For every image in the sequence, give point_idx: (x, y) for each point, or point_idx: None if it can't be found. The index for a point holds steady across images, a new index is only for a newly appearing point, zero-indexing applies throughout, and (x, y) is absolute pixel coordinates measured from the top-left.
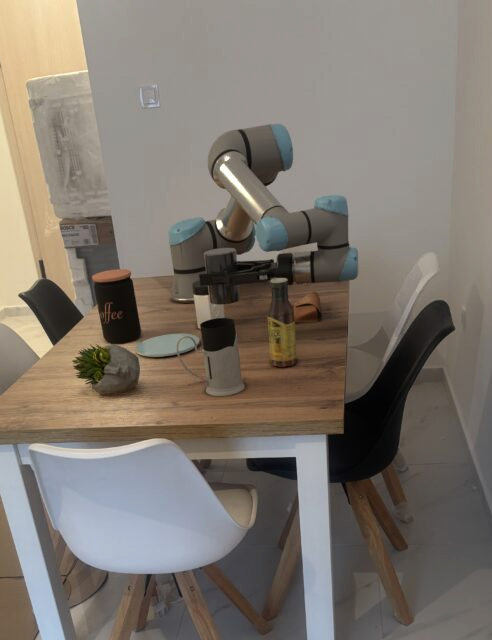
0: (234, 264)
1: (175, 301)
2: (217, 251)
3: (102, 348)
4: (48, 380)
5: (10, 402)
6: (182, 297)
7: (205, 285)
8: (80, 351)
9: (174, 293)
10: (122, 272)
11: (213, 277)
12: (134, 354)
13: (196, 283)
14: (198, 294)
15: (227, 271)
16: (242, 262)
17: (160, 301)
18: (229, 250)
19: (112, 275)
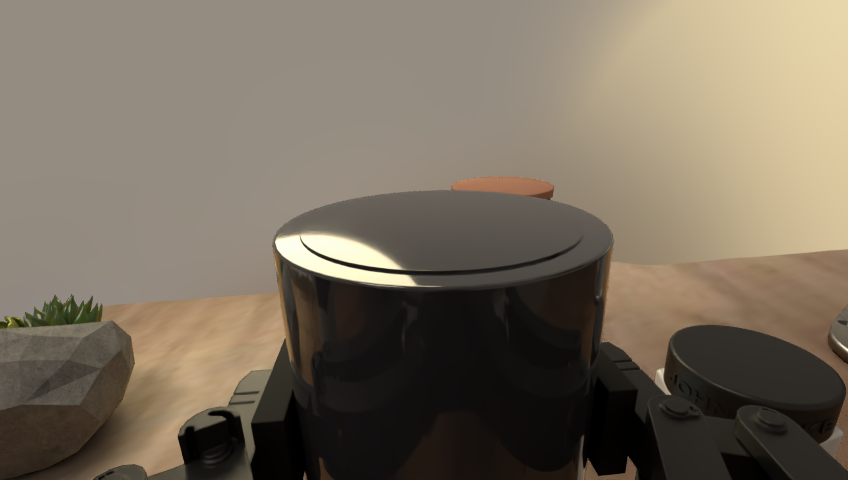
0: (384, 433)
1: (828, 339)
2: (435, 214)
3: (9, 323)
4: (247, 315)
5: (153, 308)
6: (845, 342)
7: (700, 368)
8: (90, 299)
9: (839, 319)
10: (515, 190)
11: (243, 379)
12: (6, 401)
13: (709, 334)
14: (664, 378)
15: (178, 439)
16: (781, 469)
17: (801, 315)
18: (452, 252)
19: (483, 187)
